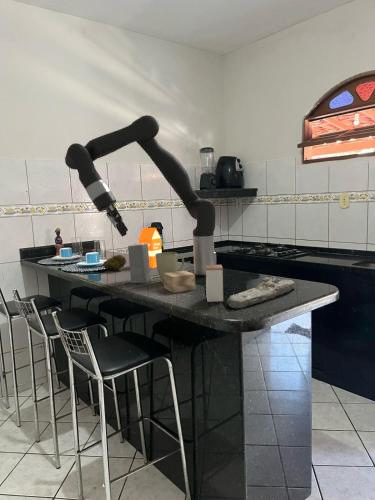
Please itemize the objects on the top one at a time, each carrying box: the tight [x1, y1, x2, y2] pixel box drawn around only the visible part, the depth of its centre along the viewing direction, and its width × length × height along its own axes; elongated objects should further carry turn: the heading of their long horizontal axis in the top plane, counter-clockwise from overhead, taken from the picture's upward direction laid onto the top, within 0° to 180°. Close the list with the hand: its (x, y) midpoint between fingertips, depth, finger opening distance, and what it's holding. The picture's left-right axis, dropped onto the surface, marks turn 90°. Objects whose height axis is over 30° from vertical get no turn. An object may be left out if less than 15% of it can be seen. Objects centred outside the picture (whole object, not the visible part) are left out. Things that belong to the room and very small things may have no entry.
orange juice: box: [138, 227, 163, 269], centre depth 197 cm, size 8×9×20 cm
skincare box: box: [127, 243, 152, 284], centre depth 160 cm, size 8×7×16 cm
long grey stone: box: [226, 276, 296, 309], centre depth 130 cm, size 35×5×10 cm
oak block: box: [163, 270, 196, 293], centre depth 145 cm, size 9×9×6 cm
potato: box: [102, 254, 127, 271], centre depth 189 cm, size 8×13×8 cm, turn 38°
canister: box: [205, 264, 224, 303], centre depth 127 cm, size 5×5×11 cm
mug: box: [155, 251, 185, 285], centre depth 157 cm, size 11×10×12 cm
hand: (125, 233), depth 138 cm, fingers open, 8 cm apart
